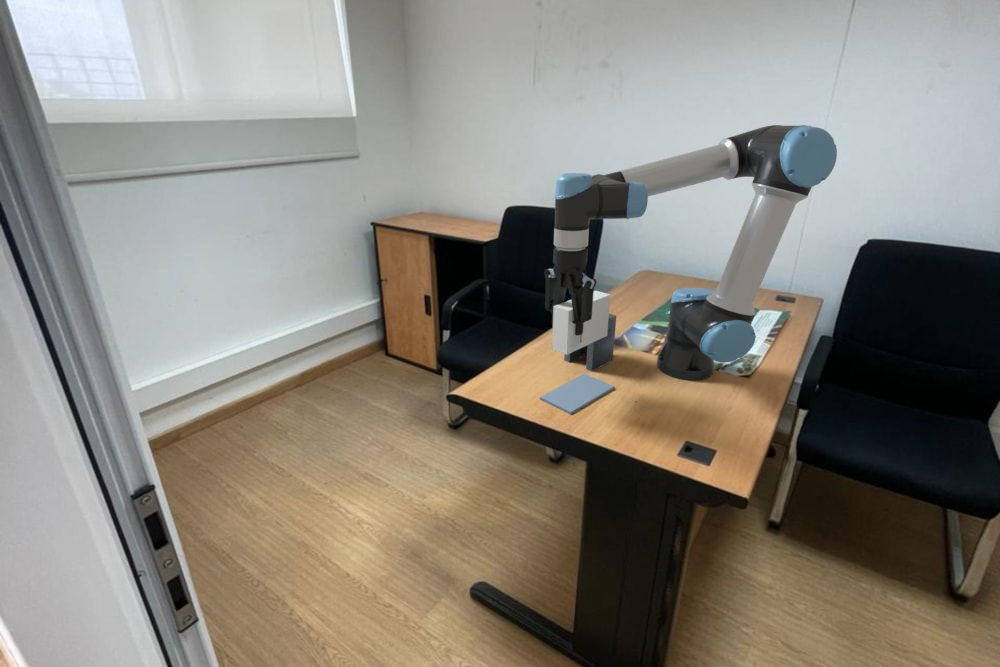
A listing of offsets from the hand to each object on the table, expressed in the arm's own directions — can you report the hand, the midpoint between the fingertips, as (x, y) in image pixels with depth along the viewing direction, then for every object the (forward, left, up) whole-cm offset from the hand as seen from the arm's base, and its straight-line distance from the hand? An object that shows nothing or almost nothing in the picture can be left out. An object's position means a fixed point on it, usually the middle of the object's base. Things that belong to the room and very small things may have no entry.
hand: (566, 343), depth 121 cm
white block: (0, -6, -2) cm, 6 cm away
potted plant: (-13, -12, -17) cm, 25 cm away
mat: (0, -6, -16) cm, 17 cm away
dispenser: (+10, -23, -16) cm, 30 cm away
